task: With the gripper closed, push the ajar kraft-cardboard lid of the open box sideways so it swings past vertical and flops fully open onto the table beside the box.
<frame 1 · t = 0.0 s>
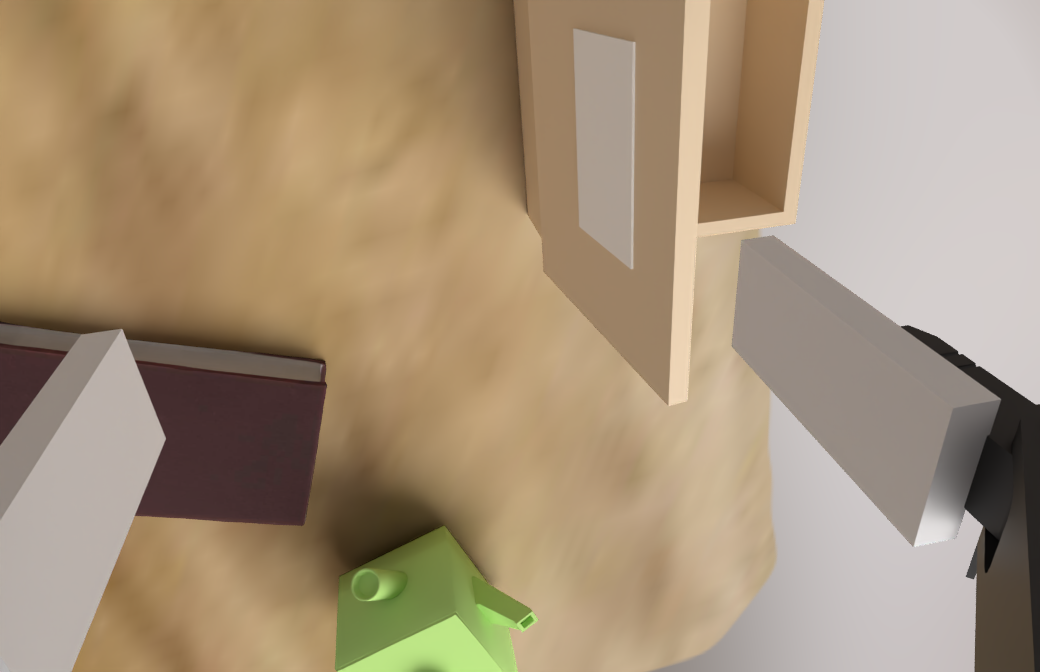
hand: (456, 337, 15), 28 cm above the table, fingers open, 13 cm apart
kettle: (418, 580, 58), on the table
book: (167, 417, 47), on the table
open box: (637, 11, 40), on the table
lid: (598, 59, 26), point 14 cm above the table, hinge at 82.0°
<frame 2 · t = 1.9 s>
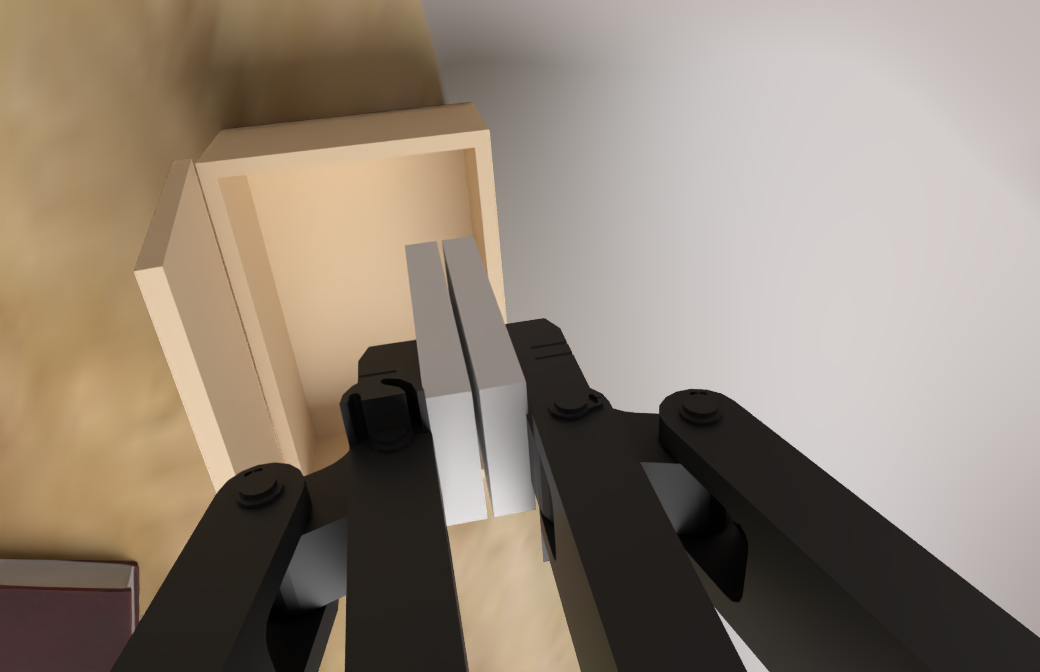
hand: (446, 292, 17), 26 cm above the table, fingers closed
book: (0, 610, 53), on the table
open box: (381, 290, 46), on the table
lid: (245, 441, 32), point 14 cm above the table, hinge at 82.0°
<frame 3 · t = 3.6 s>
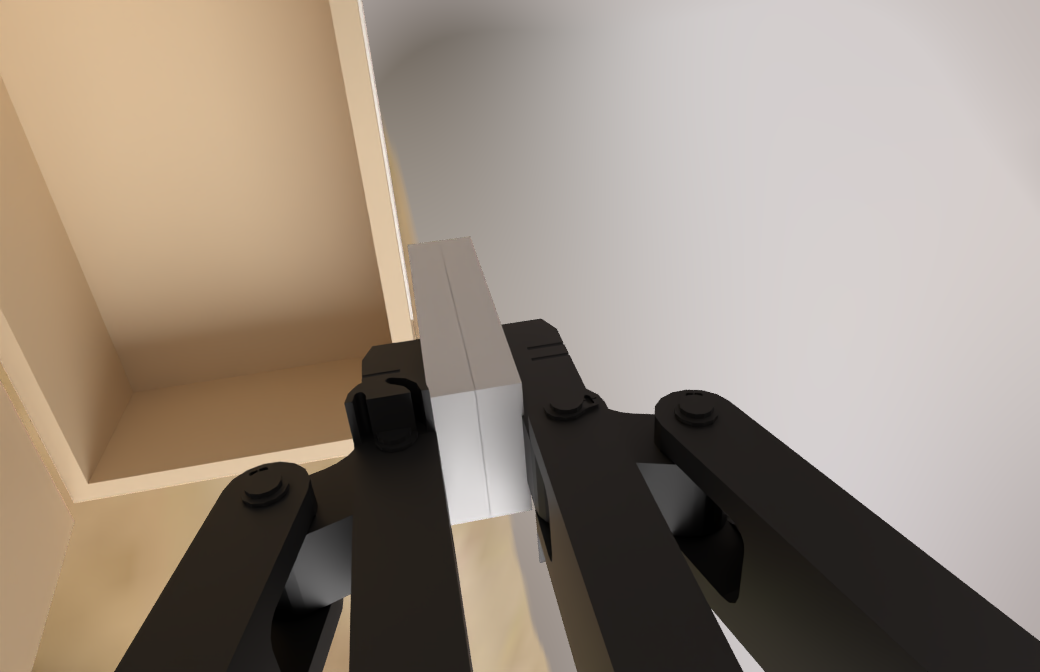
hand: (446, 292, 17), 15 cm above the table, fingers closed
open box: (211, 155, 29), on the table
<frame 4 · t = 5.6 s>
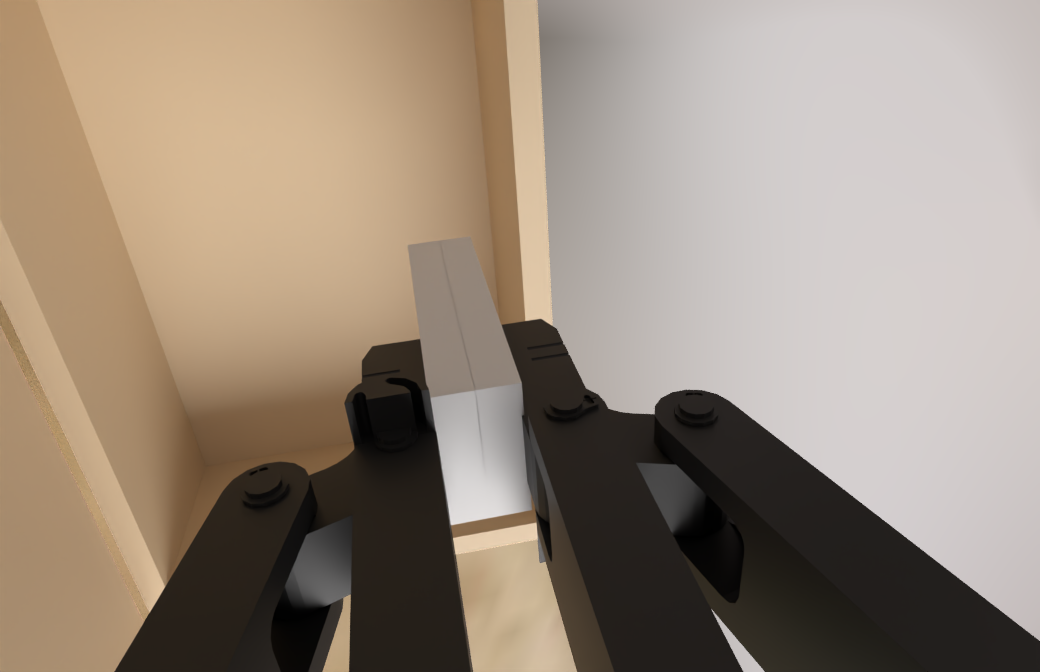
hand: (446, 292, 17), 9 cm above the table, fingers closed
open box: (310, 199, 25), on the table
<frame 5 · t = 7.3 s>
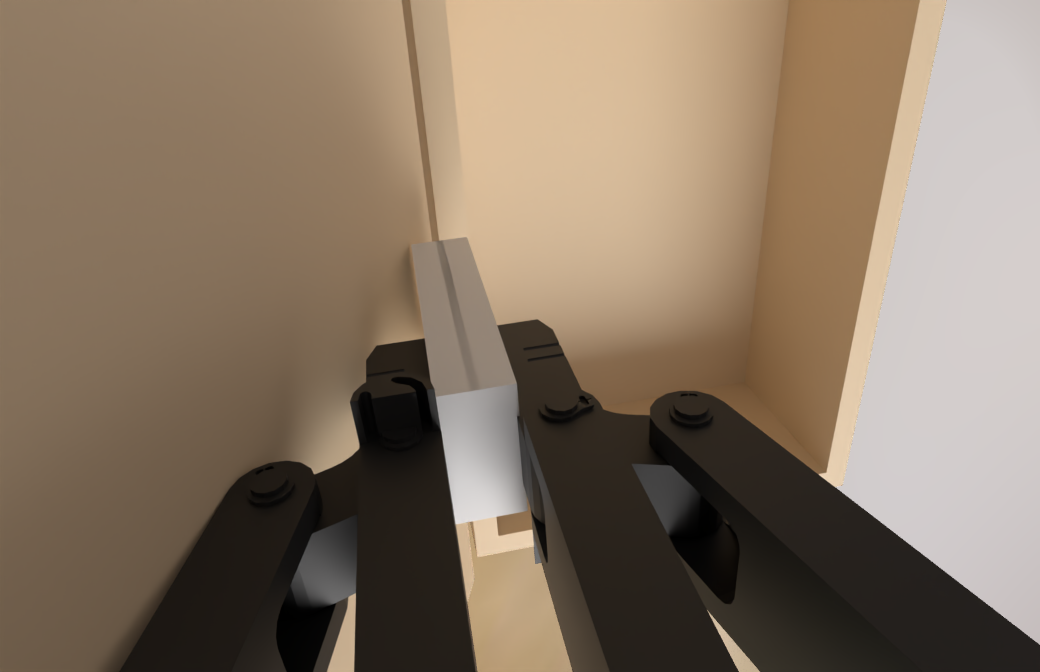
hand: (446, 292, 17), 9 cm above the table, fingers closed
open box: (608, 170, 26), on the table
lid: (315, 427, 13), point 14 cm above the table, hinge at 111.6°, touching gripper
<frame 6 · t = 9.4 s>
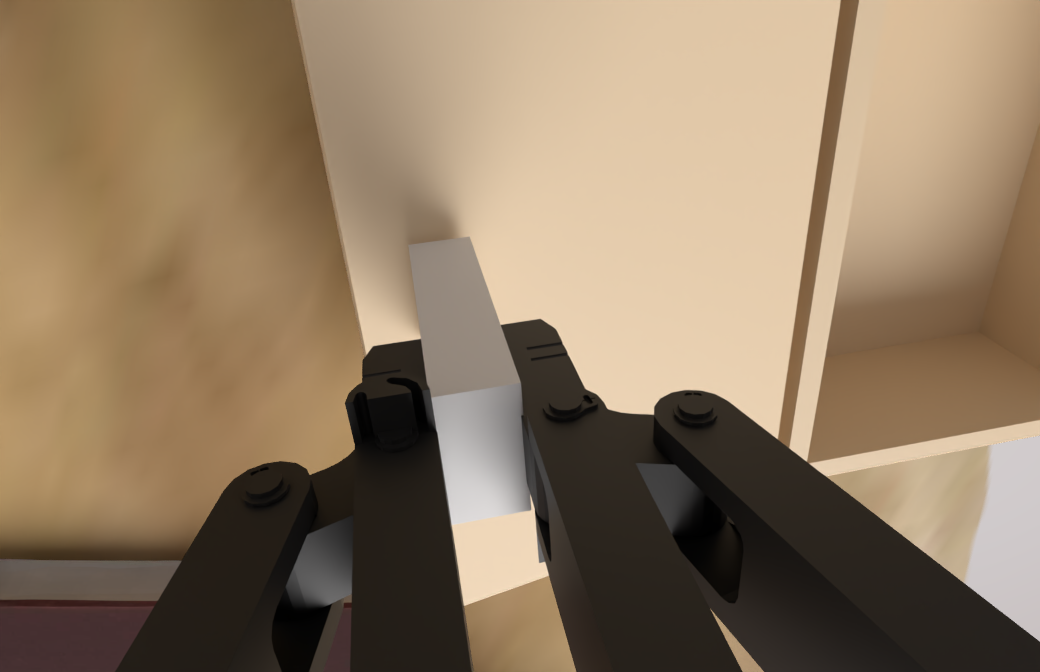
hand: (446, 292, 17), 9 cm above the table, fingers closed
book: (212, 639, 35), on the table
open box: (892, 122, 28), on the table
lid: (598, 243, 19), point 8 cm above the table, hinge at 169.8°, touching gripper
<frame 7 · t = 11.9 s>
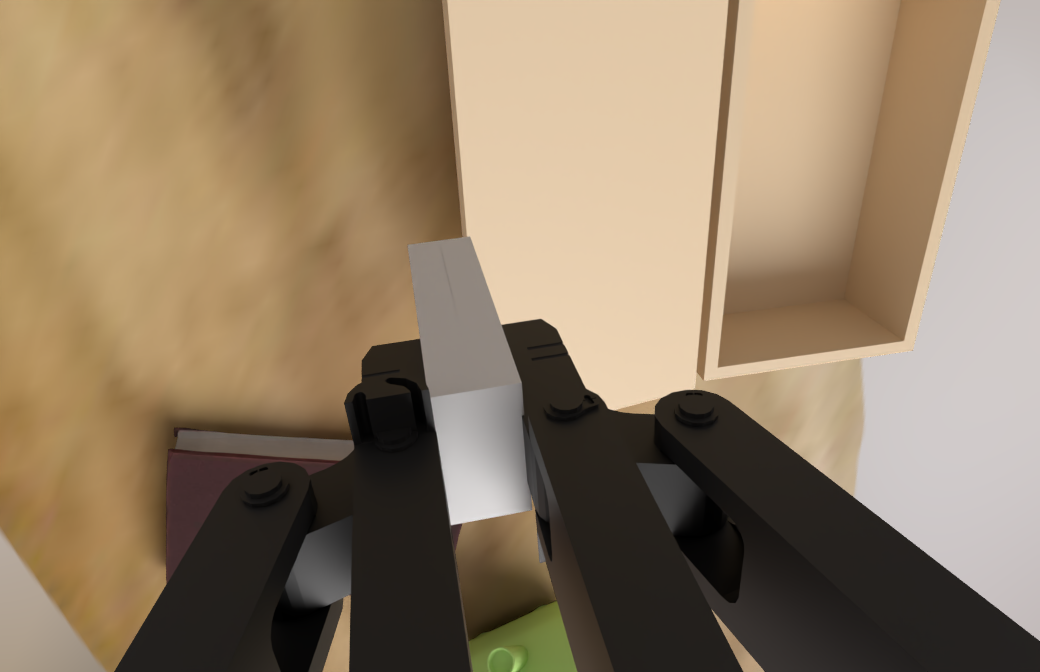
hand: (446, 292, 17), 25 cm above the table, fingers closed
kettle: (522, 648, 62), on the table
book: (321, 502, 51), on the table
open box: (776, 160, 45), on the table
lid: (592, 223, 36), point 8 cm above the table, hinge at 169.9°
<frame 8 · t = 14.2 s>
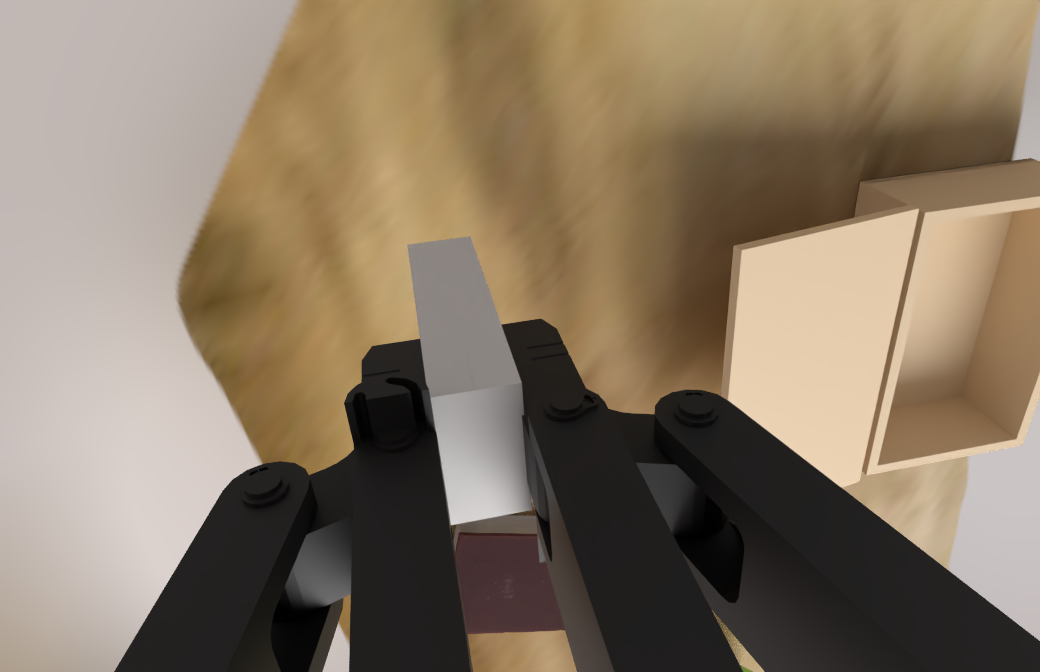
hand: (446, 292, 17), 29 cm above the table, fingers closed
book: (548, 560, 65), on the table
open box: (916, 301, 58), on the table
lid: (805, 380, 49), point 8 cm above the table, hinge at 169.9°
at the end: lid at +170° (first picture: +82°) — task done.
